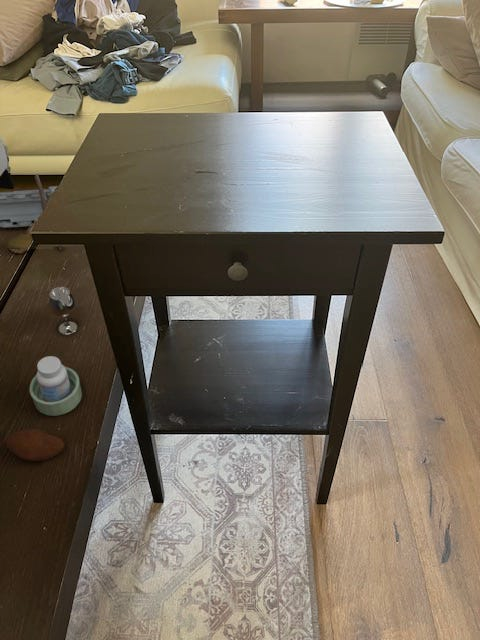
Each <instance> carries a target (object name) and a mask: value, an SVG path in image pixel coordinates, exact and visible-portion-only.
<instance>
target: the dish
mask: <svg viewBox="0 0 480 640" xmlns="http://www.w3.org/2000/svg"><path fill="white" fill-rule="evenodd" d="M63 366H64V367H65V368H66V371H67V374H68V378H69V382H70V386H71V390H72V393H71V394H70V395H69V396H68V397H66V398H64V399H62V400H60V401H55V402H45V401H44V399H43V396H42V393H41V390H40V387H39V384H38V381H37V374H35V376H34V377H33V378H32V379H31V381H30V383H29V394H30V396H31V399H32V402H33V404H34V407H35V409H36V410H37V411H38V412H39V413H41V414H44V415H46V416H52V417H57V416H62V415H65V414H67V413H69V412H71V411H72V410H74V409H76V407H77V406H78V405H79V404H80V402H81V400H82V397H83V389H82V385H81V380H80V377H79V375H78V373H77V372H76V371H75V370H73V369H72V368H71V367H67V366H65V365H63Z"/></svg>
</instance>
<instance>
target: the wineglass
mask: <svg viewBox="0 0 480 640" xmlns="http://www.w3.org/2000/svg"><path fill="white" fill-rule="evenodd" d="M48 294H49V295H48V304H49V305H48V306H49V309H50V310H51V312H52V313H53V314H54V315H56V316H59V317H63V318H64V322H62V323H61V324H60V325H59V326H58V331H59V333H60V334H62V335H66V336H67V335H71V334H74V333H75V332H76V331H77V330H78V325H77V323H76V322H74V321H71V320H70V321H68V316H70V314H73V312H74V310H75V307H76V301H75V298H74V296H73V293H72V292H71V290H70V289H69V288H68V287H66V286H57V287H54V288H53V289H51V290H50V292H49V293H48Z"/></svg>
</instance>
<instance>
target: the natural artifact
mask: <svg viewBox="0 0 480 640" xmlns="http://www.w3.org/2000/svg"><path fill="white" fill-rule="evenodd" d="M34 180H35V182H36V185H37V190H39V193H40V197H41V204H42V209H43V211H44V209H45V207H46V202H45V197H44V193H45V192H44V190H43V189H44V188H43V185H42V182H41V180H40V176H39V173H37V174H35V175H34ZM56 247H57V248H58V249H59V250H60V251H62V249H63V245H62V246H56Z"/></svg>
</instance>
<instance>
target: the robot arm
mask: <svg viewBox="0 0 480 640" xmlns="http://www.w3.org/2000/svg"><path fill="white" fill-rule="evenodd" d="M8 149H9V148H8V147H7V146H5V145H4V142H3V139H2V136H1V135H0V189H3V190H14V189H15V184H14V181H13V177H12V173H11V166H10V165H9V163H10V157H9V153H8Z"/></svg>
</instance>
